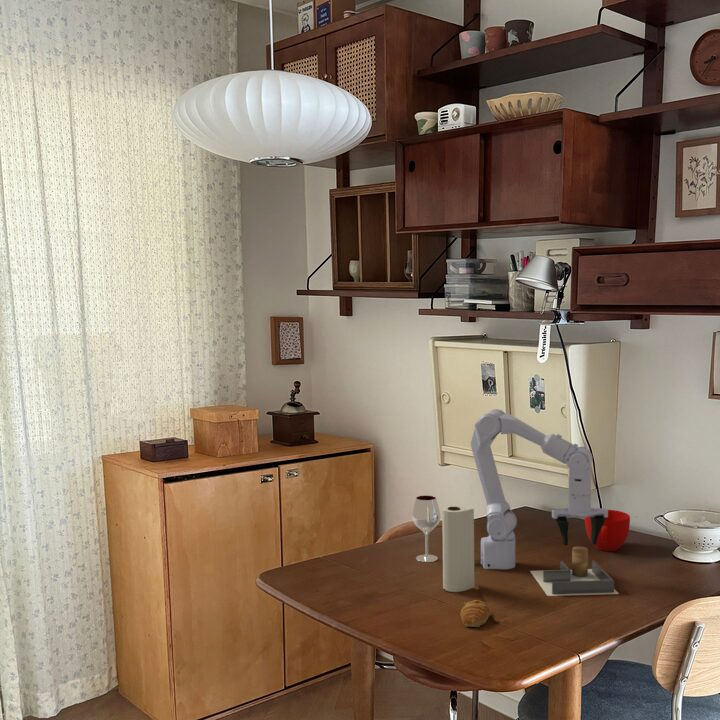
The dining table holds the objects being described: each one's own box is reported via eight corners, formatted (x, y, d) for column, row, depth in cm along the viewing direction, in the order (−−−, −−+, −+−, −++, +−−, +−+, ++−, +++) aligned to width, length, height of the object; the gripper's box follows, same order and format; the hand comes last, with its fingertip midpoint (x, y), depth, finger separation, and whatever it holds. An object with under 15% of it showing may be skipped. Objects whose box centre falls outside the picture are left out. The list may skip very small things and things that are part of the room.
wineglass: (446, 559, 235) (446, 498, 234) (424, 565, 230) (423, 502, 229) (428, 552, 242) (428, 493, 240) (407, 558, 237) (406, 497, 236)
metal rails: (552, 594, 204) (552, 582, 204) (536, 572, 220) (536, 561, 220) (614, 592, 204) (614, 580, 204) (594, 571, 220) (594, 560, 220)
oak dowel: (574, 577, 216) (574, 551, 215) (570, 572, 220) (570, 546, 219) (589, 576, 216) (589, 551, 215) (585, 571, 220) (585, 546, 219)
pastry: (486, 631, 185) (485, 614, 185) (456, 628, 187) (456, 612, 187) (490, 615, 194) (490, 599, 194) (462, 613, 196) (462, 597, 196)
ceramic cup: (580, 556, 236) (580, 522, 235) (587, 539, 252) (587, 507, 251) (627, 560, 231) (627, 526, 231) (631, 543, 247) (631, 511, 246)
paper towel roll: (438, 589, 211) (437, 508, 209) (450, 583, 216) (449, 503, 214) (462, 595, 207) (462, 513, 205) (474, 588, 212) (473, 507, 210)
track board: (547, 599, 203) (547, 595, 203) (530, 574, 221) (530, 570, 221) (618, 597, 203) (618, 593, 203) (595, 572, 222) (595, 568, 222)
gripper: (556, 498, 212) (556, 549, 213) (611, 496, 212) (611, 547, 213) (549, 491, 219) (549, 540, 220) (603, 490, 219) (602, 539, 220)
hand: (579, 543), depth 217 cm, fingers open, 7 cm apart
